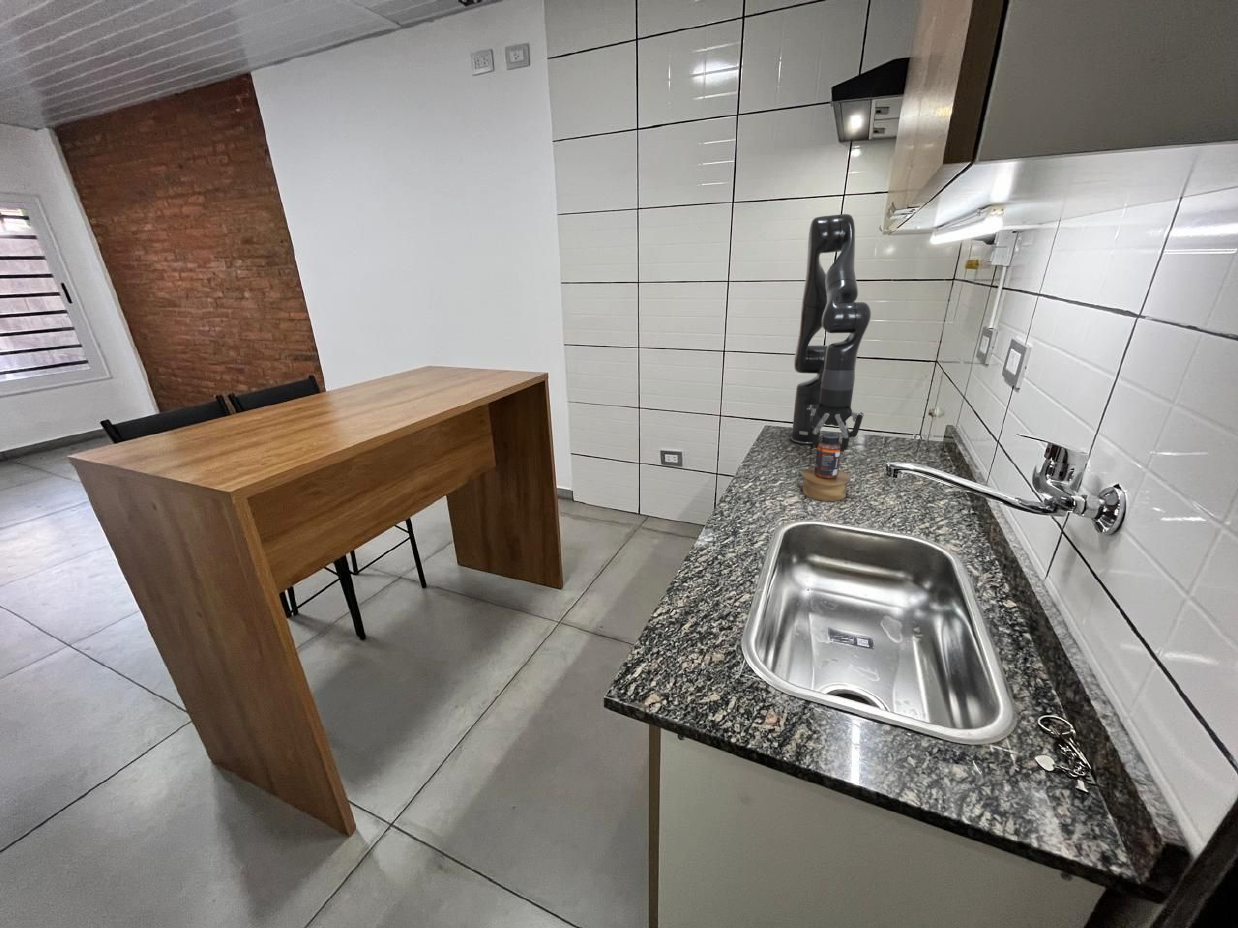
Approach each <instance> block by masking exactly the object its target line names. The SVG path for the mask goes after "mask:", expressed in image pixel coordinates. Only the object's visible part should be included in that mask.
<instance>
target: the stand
mask: <svg viewBox="0 0 1238 928" xmlns="http://www.w3.org/2000/svg"><path fill="white" fill-rule="evenodd" d="M801 473H802V474H801V476H802V478H803V481H802V493H803V494H804V496H807V497H809V498H811V499H813V500H817V501H823V502H836V501H837V502H838V501H841V500H843V499H845V498H846V497H847V490H848V484H849V483H851V482H850V481H851V476H850V474H848V473H846V472H844V471H842V470H840V469H839V472H838V476H837V477H836V478H832V479H826V478H821V477H818V476H817V475H815V467H810V468H806V469H804V470H803V471H802V472H801Z"/></svg>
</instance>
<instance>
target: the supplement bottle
mask: <svg viewBox="0 0 1238 928" xmlns="http://www.w3.org/2000/svg"><path fill="white" fill-rule="evenodd" d="M841 444H842V443H840V435H838V434H837V433H830V432H827V433H823V434H822V438H821V440H820V441H819V443H818V446H817V448H816V453H815V454H816V455H815V462H814V463H815V464H814V468H815V475H817V476H818V477H821V478H826V479H832V478H836V477H837V476H838V472H839V470H840V464H841V457H842V452H841Z"/></svg>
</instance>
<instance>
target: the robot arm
mask: <svg viewBox="0 0 1238 928" xmlns="http://www.w3.org/2000/svg"><path fill="white" fill-rule="evenodd" d="M855 227H856V226H855V220H854V218H853V216H852V215H851V214H849V213H839V214H832V215H831V214H830V215H823V216H817V217H814V218H813V219H812V220H811V223H810V226H809V229H808V230H809V232H808V240H807V242H808V243H807V260H806V272H805V281H804V286H803V287H804V288H803V294H802V301H801V308H800V309H801V310H800V324H799V331H798V338H797V343H796V344H797V345H796V347H795V348H796V349H795V353H794V360H793V361H794V362H793V364H794V365H793V366H794V367H793V368H794V370H795V372H796V373H799V374H816V375H815V376H814V377H812V378H811V379H808V380H805V381H803V382H800V383H798V384H797V385H796V389H795V397H794V398H795V399H794V400H795V401H794V411H793V419H792V420H793V421H792V422H793V423H792V429H791V437H790V440H791V441H792V442H794V443H796V444H800V445H812V446H813V448H814V449H817V446H818V443H819V442H820V441H821V440H820V437H821V430H822V428H823V427H824V425H825V426H833V427H838V428H839V430H840V432H841V435H842V438H841V443H840V444H841V453H842V452H845V451H847V449H848V448H849V444H850V443H849V441H850V438H855V437H857V436H858V434H859V431H860V427H861V425H862V421H863V418H864V416H865V415H864V412H855V411H853V409H852V402H853V401H852V400H853V395H854V387H855V380H856V364H857V358H858V352H859V349H860V346H861V343H862V340H863V339H864V335H865V334H866V331H867V329H868V327H869V325H870V322H871V318H872V310H871V307H870V306H869V304H867V302H863V301H856V300H857V299H858V296H859V289H858V283H857V278H856V277H857V276H856V269H855V261H856V260H855V259H856V257H855V256H856V228H855ZM839 252H840V253H839ZM833 253H839V255H838V256H837V258H836V259H835V260H834V261H833V263H832V264H831V265H830V266H829V268H828V270H827V271H826V272H825V269H824V267H823V265H822V262H821V255H822V254H833ZM822 328H823V330H824V331H825V332H826V333H829V334H849V335H848V336H847V337H846V338H845V339H844V340H842V341H837V342H833V343H830V344H829V345H819V344H815V345H813V344H812V345H811V344H810V342H811V341H812V339H813V338H814V336H815V335H816V334H817V333H819V331H820V330H821V329H822ZM850 417H852V421H853V422H854V424H853V428H852V430H851V431H850V429H849V425H848V422H847V420H848V419H850Z"/></svg>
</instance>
